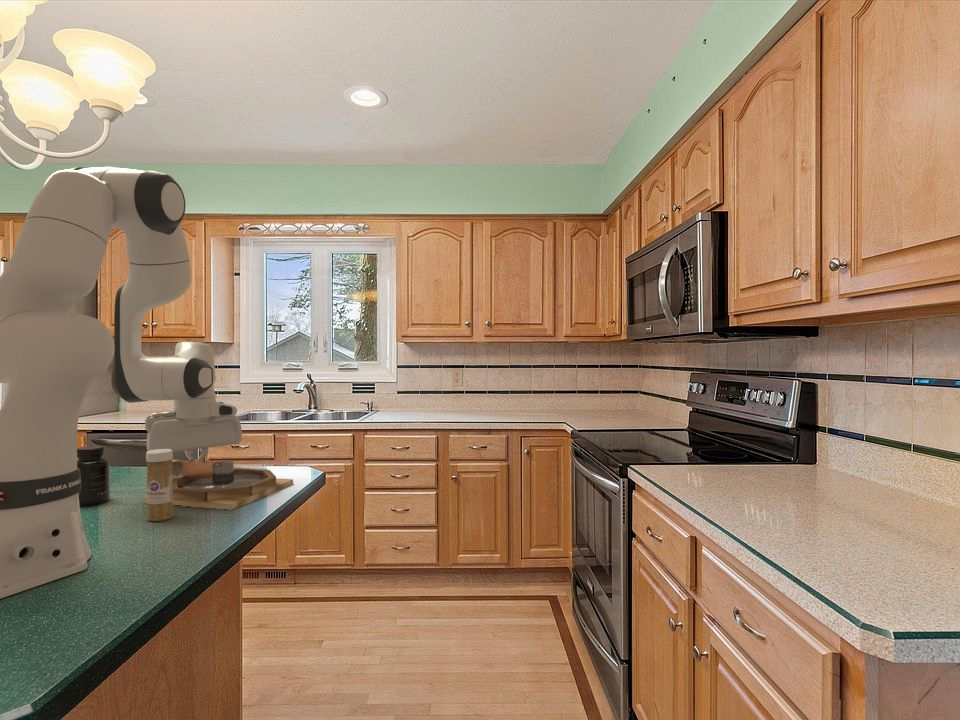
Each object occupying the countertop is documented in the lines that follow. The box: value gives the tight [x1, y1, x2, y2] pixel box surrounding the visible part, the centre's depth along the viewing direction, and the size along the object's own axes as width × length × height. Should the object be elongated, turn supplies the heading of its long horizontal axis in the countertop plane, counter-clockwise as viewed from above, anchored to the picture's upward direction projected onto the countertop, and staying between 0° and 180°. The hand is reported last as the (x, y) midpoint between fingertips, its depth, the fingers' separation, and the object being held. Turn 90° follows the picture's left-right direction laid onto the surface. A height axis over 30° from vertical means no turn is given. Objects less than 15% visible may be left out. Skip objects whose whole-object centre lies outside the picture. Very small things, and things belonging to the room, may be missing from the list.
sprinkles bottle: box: [145, 449, 174, 522], centre depth 108 cm, size 5×5×14 cm
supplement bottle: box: [77, 445, 111, 507], centre depth 119 cm, size 7×7×12 cm
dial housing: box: [143, 467, 294, 511], centre depth 127 cm, size 22×22×3 cm
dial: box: [173, 459, 263, 490], centre depth 127 cm, size 21×17×6 cm
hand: (196, 467), depth 131 cm, fingers closed
